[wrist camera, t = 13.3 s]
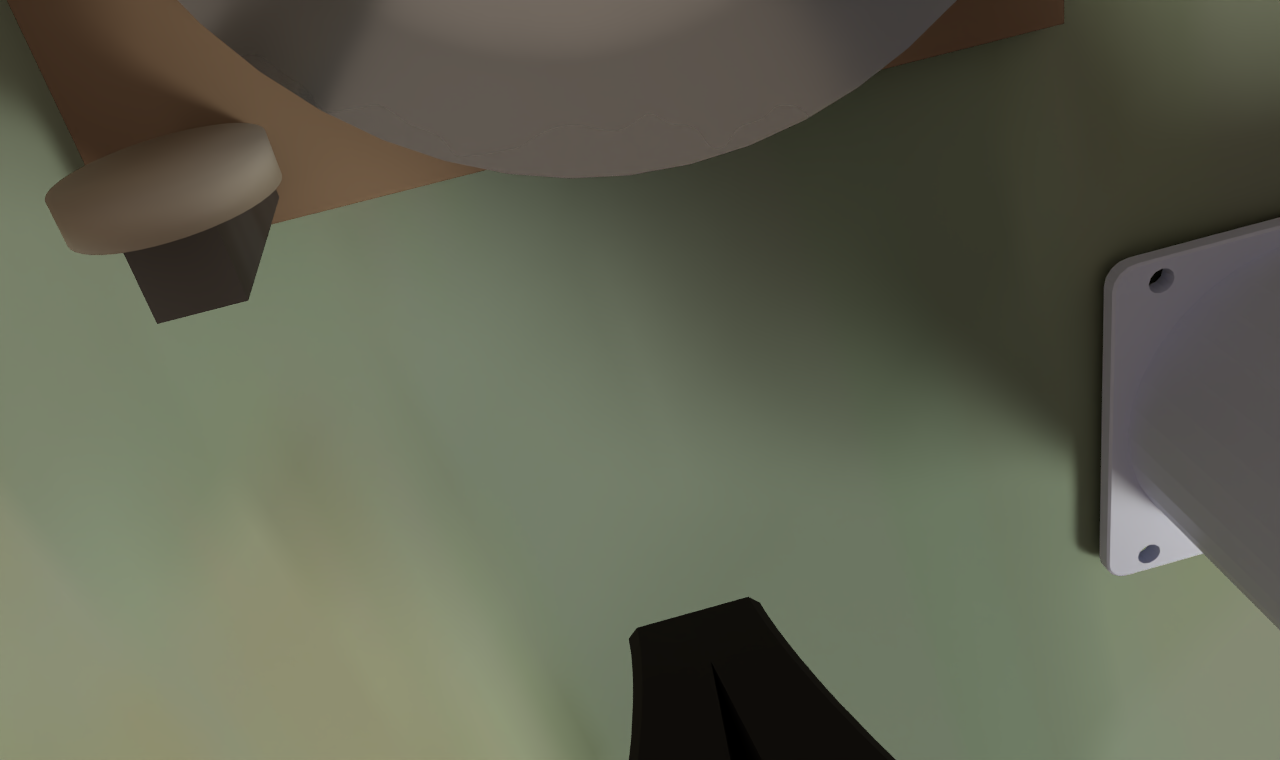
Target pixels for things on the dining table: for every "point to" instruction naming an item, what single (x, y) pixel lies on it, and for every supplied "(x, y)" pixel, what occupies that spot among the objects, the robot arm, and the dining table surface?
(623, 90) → the turntable
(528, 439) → the dining table surface
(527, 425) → the dining table surface
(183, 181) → the base board
